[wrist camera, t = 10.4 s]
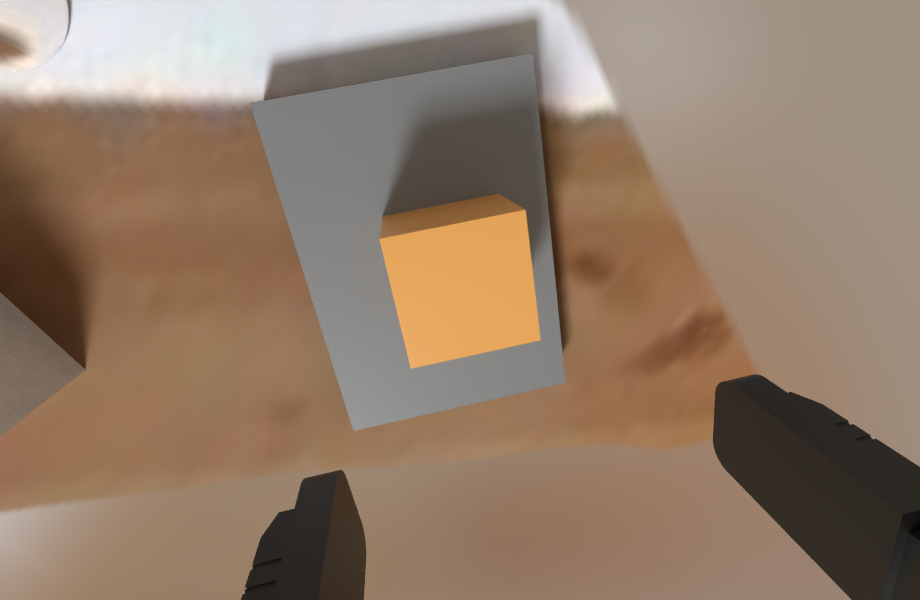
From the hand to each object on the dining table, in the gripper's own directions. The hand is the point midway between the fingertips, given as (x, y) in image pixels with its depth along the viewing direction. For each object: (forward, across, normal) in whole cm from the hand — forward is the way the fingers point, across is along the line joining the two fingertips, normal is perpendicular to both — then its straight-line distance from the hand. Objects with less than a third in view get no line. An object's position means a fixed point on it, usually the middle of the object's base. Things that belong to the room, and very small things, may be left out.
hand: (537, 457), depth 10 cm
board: (+18, +1, 0) cm, 18 cm away
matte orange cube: (+15, 0, 0) cm, 16 cm away
